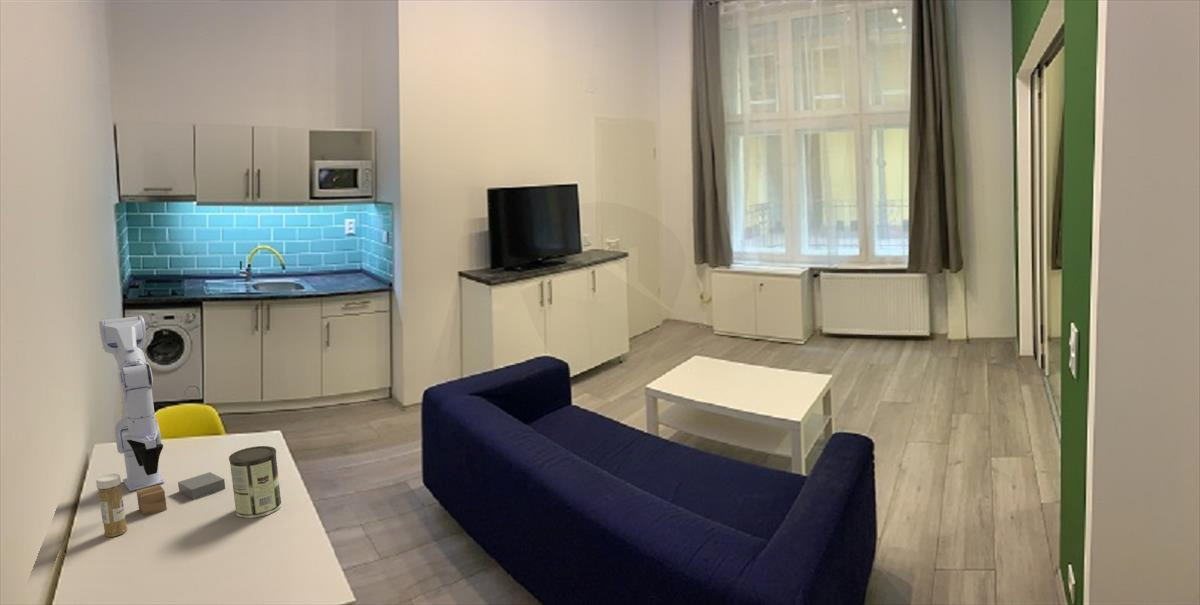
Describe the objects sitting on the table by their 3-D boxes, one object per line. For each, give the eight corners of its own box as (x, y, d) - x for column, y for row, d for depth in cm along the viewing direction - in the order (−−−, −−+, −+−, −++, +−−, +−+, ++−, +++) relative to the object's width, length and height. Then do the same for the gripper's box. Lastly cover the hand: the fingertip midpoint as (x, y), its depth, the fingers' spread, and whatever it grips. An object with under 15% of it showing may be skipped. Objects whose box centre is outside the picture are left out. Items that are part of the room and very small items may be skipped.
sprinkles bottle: (128, 533, 172) (120, 477, 170) (104, 539, 170) (95, 482, 168) (127, 526, 176) (119, 471, 174) (103, 531, 174) (95, 476, 171)
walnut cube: (139, 509, 185) (136, 490, 184) (162, 503, 188) (159, 484, 187) (143, 516, 181) (140, 496, 180) (166, 510, 185) (164, 490, 184)
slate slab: (179, 493, 195) (177, 482, 194) (211, 482, 201) (209, 472, 201) (193, 500, 190) (191, 489, 190) (225, 490, 196) (224, 479, 196)
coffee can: (257, 497, 190) (251, 443, 188) (291, 502, 187) (285, 448, 184) (225, 515, 181) (218, 459, 178) (259, 521, 177) (253, 463, 175)
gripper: (114, 412, 183) (122, 465, 186) (128, 426, 173) (135, 482, 175) (147, 405, 188) (154, 457, 190) (162, 419, 177) (170, 474, 180)
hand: (148, 469), depth 183 cm, fingers open, 7 cm apart
